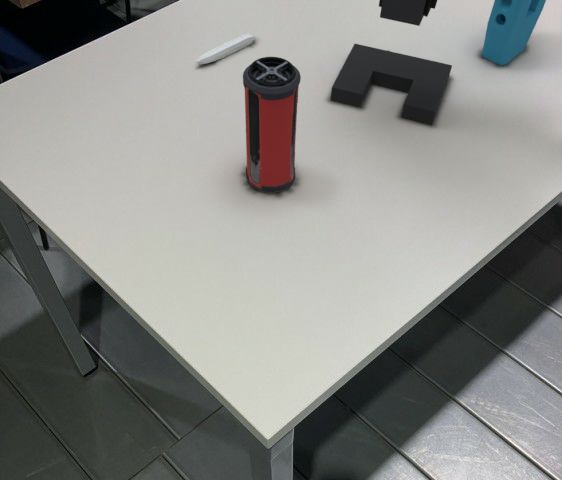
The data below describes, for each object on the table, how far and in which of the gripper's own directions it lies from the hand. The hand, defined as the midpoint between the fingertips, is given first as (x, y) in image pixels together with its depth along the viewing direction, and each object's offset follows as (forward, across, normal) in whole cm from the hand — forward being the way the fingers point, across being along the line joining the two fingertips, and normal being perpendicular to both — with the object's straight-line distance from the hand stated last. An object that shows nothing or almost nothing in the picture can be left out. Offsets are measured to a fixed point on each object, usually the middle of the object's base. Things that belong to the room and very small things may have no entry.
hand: (405, 5), depth 92 cm
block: (+18, -16, -25) cm, 35 cm away
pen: (+18, +32, -5) cm, 37 cm away
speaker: (+18, +13, +23) cm, 32 cm away
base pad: (+17, +1, -6) cm, 19 cm away
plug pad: (+1, 0, 0) cm, 1 cm away
